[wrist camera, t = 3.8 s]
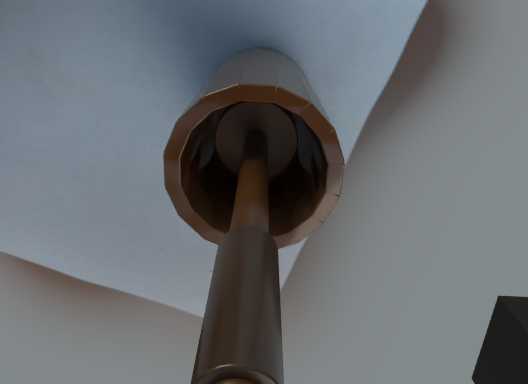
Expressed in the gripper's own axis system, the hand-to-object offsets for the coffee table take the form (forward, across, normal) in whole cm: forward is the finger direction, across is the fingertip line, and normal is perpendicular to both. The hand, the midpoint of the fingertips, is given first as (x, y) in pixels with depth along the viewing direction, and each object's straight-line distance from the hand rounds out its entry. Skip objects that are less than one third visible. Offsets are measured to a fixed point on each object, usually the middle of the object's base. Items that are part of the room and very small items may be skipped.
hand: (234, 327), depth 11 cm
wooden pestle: (+19, 0, 0) cm, 19 cm away
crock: (+28, 0, 0) cm, 28 cm away
